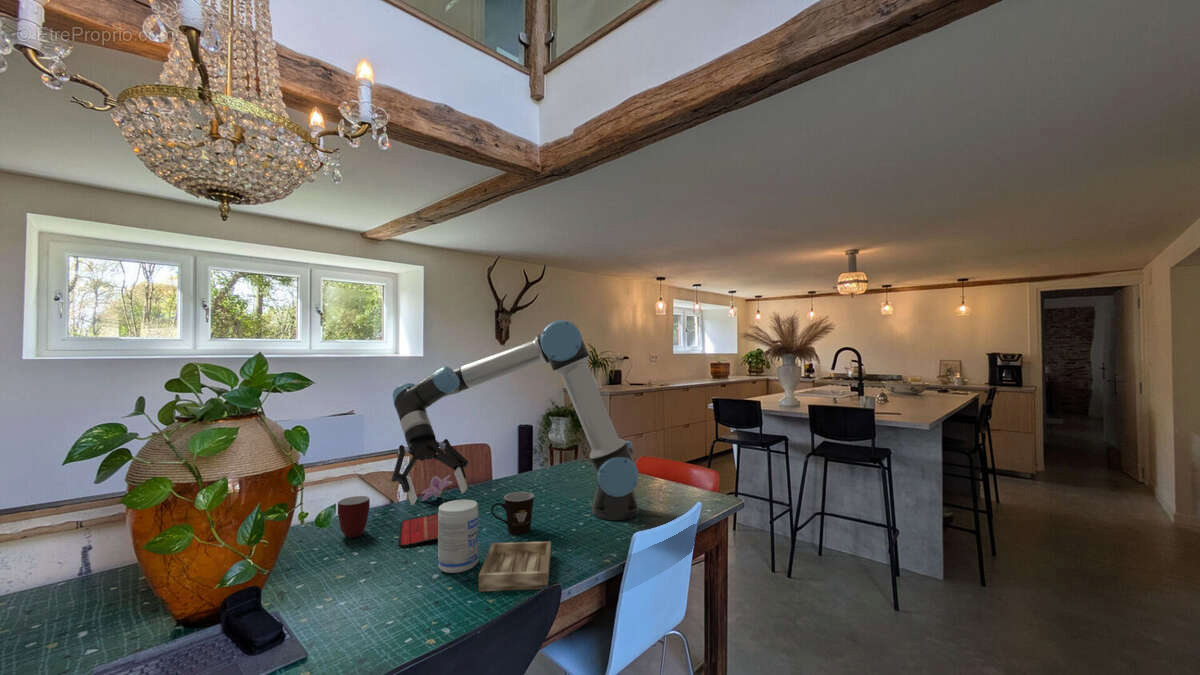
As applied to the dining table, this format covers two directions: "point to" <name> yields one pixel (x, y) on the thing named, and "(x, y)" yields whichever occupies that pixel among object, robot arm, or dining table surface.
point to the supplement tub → (457, 536)
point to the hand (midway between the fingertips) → (440, 496)
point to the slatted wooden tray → (516, 566)
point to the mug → (353, 515)
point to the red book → (419, 531)
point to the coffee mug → (517, 512)
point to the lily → (436, 487)
